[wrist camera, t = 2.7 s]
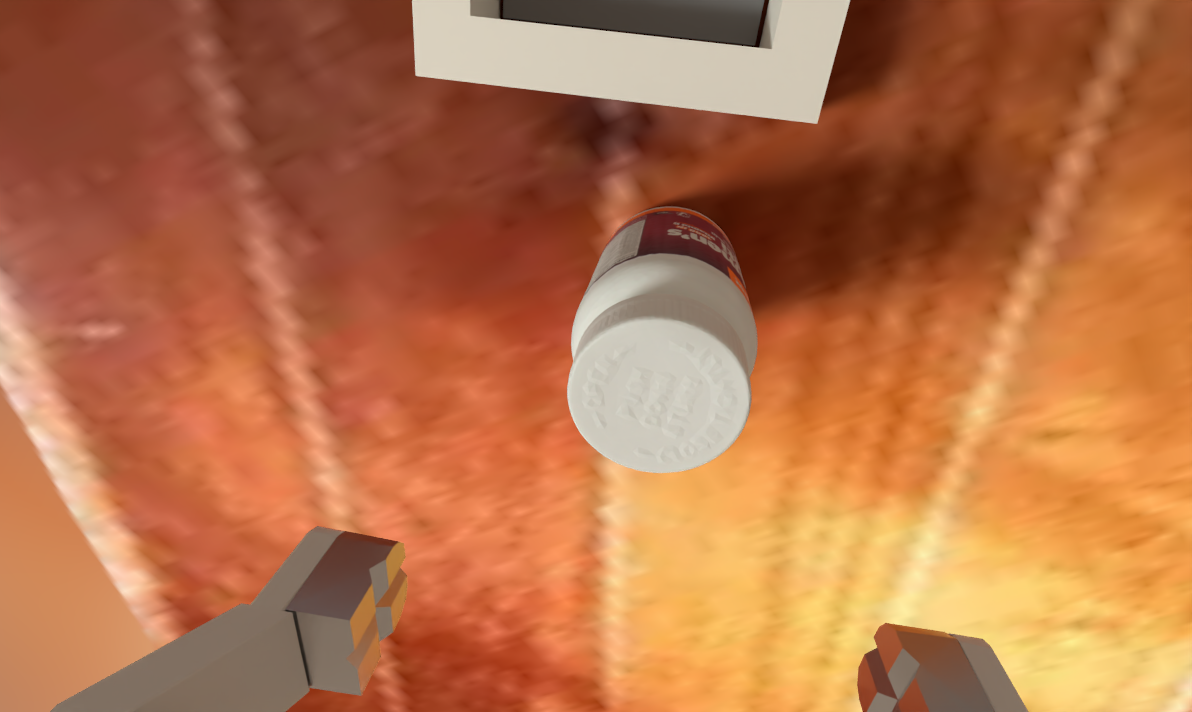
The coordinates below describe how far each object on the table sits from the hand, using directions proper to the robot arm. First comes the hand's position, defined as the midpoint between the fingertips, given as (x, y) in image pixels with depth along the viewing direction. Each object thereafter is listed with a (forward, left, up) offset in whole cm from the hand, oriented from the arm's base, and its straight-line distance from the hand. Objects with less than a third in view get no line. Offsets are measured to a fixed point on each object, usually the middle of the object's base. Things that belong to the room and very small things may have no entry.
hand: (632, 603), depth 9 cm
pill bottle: (0, 0, -18) cm, 18 cm away
